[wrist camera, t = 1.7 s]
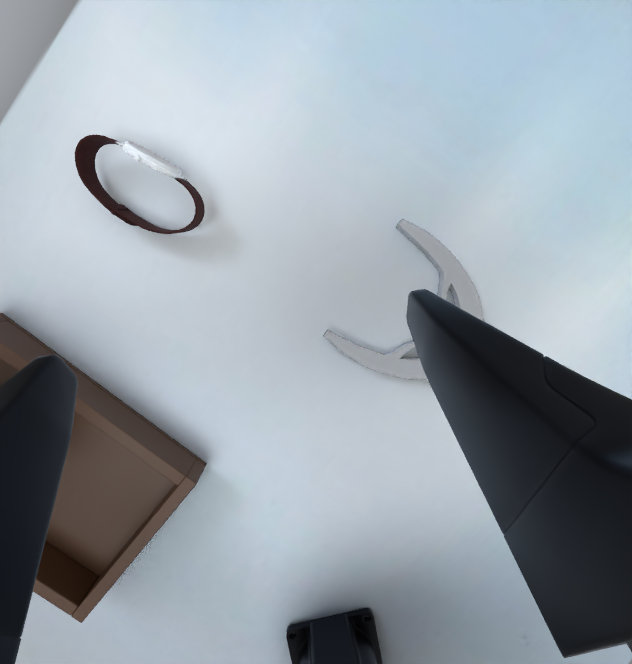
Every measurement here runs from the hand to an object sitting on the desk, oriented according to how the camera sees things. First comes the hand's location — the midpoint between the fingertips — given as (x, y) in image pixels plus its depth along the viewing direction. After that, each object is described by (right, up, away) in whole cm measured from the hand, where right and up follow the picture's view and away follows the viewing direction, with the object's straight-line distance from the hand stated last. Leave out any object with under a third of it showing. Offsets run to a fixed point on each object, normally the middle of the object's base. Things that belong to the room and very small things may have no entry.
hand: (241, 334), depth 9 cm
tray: (-16, -8, +15) cm, 23 cm away
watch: (-9, +9, +14) cm, 19 cm away
